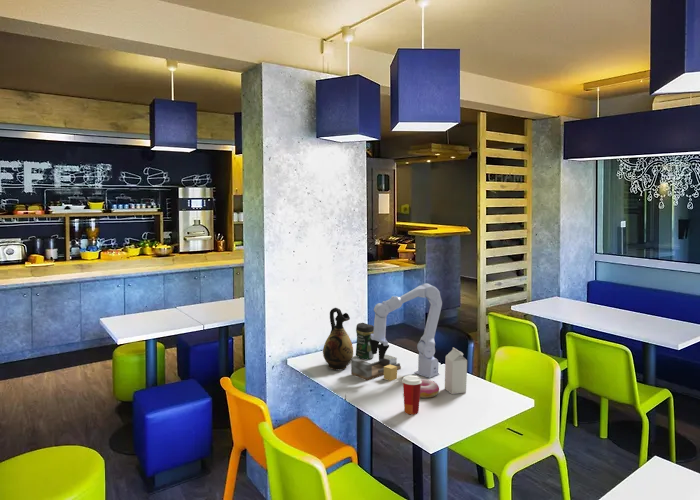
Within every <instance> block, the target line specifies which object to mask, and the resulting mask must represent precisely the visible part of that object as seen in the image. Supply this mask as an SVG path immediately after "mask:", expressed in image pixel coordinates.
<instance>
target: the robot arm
mask: <svg viewBox="0 0 700 500" xmlns="http://www.w3.org/2000/svg"><path fill="white" fill-rule="evenodd" d="M416 298H424V299H427V300H428V302H429V304H430V306H429V310H428V315H427V318H426V323H425V327H424V332H423V335H422V336H421V337H420V340H419V341H418V343H417V345H416V347H417V350H418V352H419V353H418V355H417V356H418V359H417V360H418V361H417V362H418V365H417V366H418V369H417V371H414V372H413V373H414V374H415V375H420V376H422V377H424V378H425V377H426V378H427V379H428V378H433V377H436V376H439V375H440V373H439V359H437V358H436V357H435V353H436V348H435V346H436V342H435V336H436V331H437V327H438V323H439V319H440V315H441V310H442V306H443V301H442V300H443V299H442V297H441V291H440V290H439V289H438V287H436V286H434V285H431V283H426V282H425V283H423V284H420V285H418V286H417V287H414V289H412V290H410V291H408V292H406V293H404V294H402V295H401V296H397V295H392V296H391V298H389V299H387V300H383V301H382V302H378V303H376V304H375V305H374V308H373V312H374V323H373V326H374V333H373V334H371V337H370V338H371V339H369V342H370V345H371V350H372V354H374V355H377V353H378V360H379V359H384V356H385V355H386V352H387V350H388V349H389V348H390V345H389V341H388V340H387V338H386V332H387V330H386V329H387V316H389V313H391V312H394V311H395V310H398V309H400V308H401V307H402V306H403V304H404V303H406V302H409V301H411V300H414V299H416Z"/></svg>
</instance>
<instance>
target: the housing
mask: <svg viewBox="0 0 700 500" xmlns="http://www.w3.org/2000/svg"><path fill="white" fill-rule="evenodd" d="M383 380H387V381H389V382H393V381H395V380H398V370H397V366H394V365H387V366H384V375H383Z"/></svg>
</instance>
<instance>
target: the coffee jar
mask: <svg viewBox="0 0 700 500" xmlns="http://www.w3.org/2000/svg"><path fill="white" fill-rule="evenodd" d="M355 333H356V347H355V357H356V358H357V359H360V360H371V359H373V358H374V356H375V354H372V350H371V345H370V342H369V339H371V338H370V337H371V334H373V333H374V324H373V325H372V324H368V323H365V322H360V323H357V324H356V327H355Z"/></svg>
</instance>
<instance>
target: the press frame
mask: <svg viewBox="0 0 700 500" xmlns="http://www.w3.org/2000/svg"><path fill="white" fill-rule="evenodd" d="M350 363H351V364H350V367H351V368H350V369H351V370H350V374H351V376H354V377H356V378H359V379H361V380H365V381H371V380H374V379H376V378H380V377H382V376H384V365H381V364H379V360H378V361H374V362H372V363H371V362H367V361H366V360H365V361H364V360H363V359H360V358H352V360H351V361H350ZM394 366H397V371H399V370H401V369H402V366H401V363H400V362H399V363H398V362H397V364H395V365H394Z"/></svg>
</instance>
